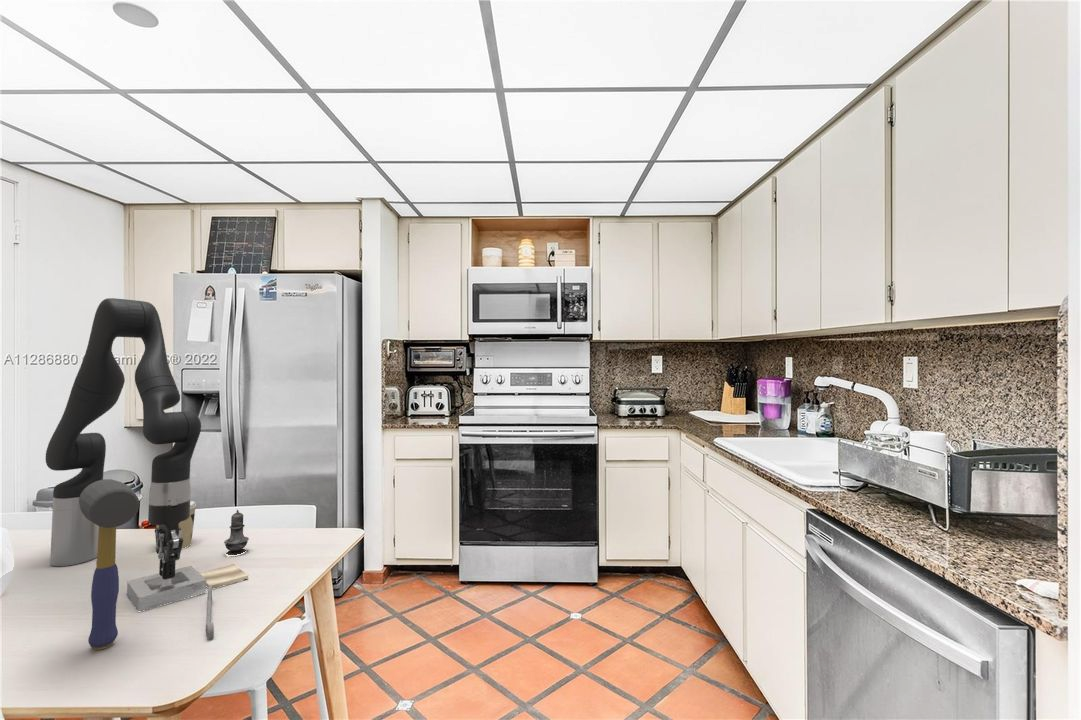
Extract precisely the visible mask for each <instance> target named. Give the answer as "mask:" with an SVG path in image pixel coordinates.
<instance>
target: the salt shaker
mask: <svg viewBox="0 0 1081 720" xmlns="http://www.w3.org/2000/svg"><path fill="white" fill-rule="evenodd" d="M239 511H240V510H239V509H237V510H236V512H235V513H233V514H232V515H231V519H230V520H231V522H230V526H229V529H230V535H229V538H227V539H226V540H224V542H223V543H224V545H225V548H226V550H228V551H226V552H225V553H226V554H228V555H237V554H241V553H243V552H245V551H246V550H247V549H245V547H246V546H247V545H248V541H249V539H250V538H249V536H248V537H247V536H245V534H244V527H245V524H244V514H243V513H242V512H239Z"/></svg>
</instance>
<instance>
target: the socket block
mask: <svg viewBox="0 0 1081 720" xmlns="http://www.w3.org/2000/svg"><path fill="white" fill-rule="evenodd" d="M200 573H201V572H199V571H198V570H196V568H194V567H193V565H188V566H184V567H180V568H175V576H174V577H173V578H170V579H171V584H173V585H170V586H166V587H162V588H160V587H161V586H162V583H163V578H162V576H160V575H159V573H155V574H152V575H151V574H150V575H147V576H146V575H145V576H143V577H139V578H135V579H130V580H126V596H127V595H128V596H127V597H128V599H129V598H130V599H129V600H130V602H131V601H132V602H131V603H132V605H133V604H134V605H133V606H134V608H135V607H136V608H135V609H136V611H137V610H138V611H142V612H144V611H143V610H145V611H148V610H147V609H149V610H151V609H150V608H152V609H155V608H154V607H156V608H158V607H157V606H159V607H161V606H160V605H163V606H165V605H164V604H166V605H168V604H167V603H170V602H173V603H175V602H174V601H177V600H180V601H182V600H181V599H184V598H187V599H189V598H188V597H191V596H194V597H196V596H195V595H198V594H201V593H205V592H206V593H207V587H206V579H205V578H204V577H203V576H202V575H201V574H200ZM206 593H205V594H206ZM201 595H202V594H201ZM198 596H199V595H198ZM191 598H192V597H191ZM184 600H185V599H184ZM177 602H178V601H177ZM170 604H171V603H170ZM138 611H137V612H138Z"/></svg>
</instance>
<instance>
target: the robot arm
mask: <svg viewBox="0 0 1081 720" xmlns="http://www.w3.org/2000/svg"><path fill="white" fill-rule="evenodd" d="M93 317H94V318H93V321H92V326H91V331H90V335H89V338H88V342H87V346H86V350H85V353H84V356H83V359H82V362H81V365H80V367H79V369H78V372H77V373H76V376H75V378H74V381H73V383H72V384H73V385H72V387H71V389H70V394H69V396H68V399H67V402H66V404H65V405H66V406H65V408H64V411H63V414H62V416H61V418H60V420H59V421H58V424H57V426H56V428H55V430H54V432H53V433H52V436H51V438H50V440H49V441H48V444H47V448H46V451H45V464H46V466H47V468H49V469H50V470H53V471H56V472H57V471H58V472H59V471H60V472H61V471H62V472H63V471H71V470H72V471H73V470H78V469H79V470H80V469H81V470H80V472H78V474H76V475H75V476H73V477H71V478H70V479H68V480H65V481H62V482H60V483H57V484H56V485H55V486H54V488H53V490H52V491H53V492H52V518H51V538H50V556H49V564H50V566H53V567H64V566H65V567H66V566H74V565H78V564H83V563H86V562H89V561H92V560H94V559H97V548H98V530H99V526H98V525H96V524H94V523H93V522H91V521H89V520H88V519H87V518H86V517H85V516H84V515H83V513H82V511H81V509H80V505H79V498H80V494H81V493H82V491H83V490H84V489H85V488H86V487H87V486H88V485H90V484H92V483H94V482H96V481H99V480H103V479H104V472H105V471H104V470H105V469H104V468H105V460H106V453H107V452H106V451H107V446H106V445H107V444H106V439H105V438H104V436H103V434H101V432H87V433H86V432H85V433H82V431H84V430H85V429H86V427H88V426H89V425H90V424H92V423H94V422H95V421H97V420H98V419H99V418H101V417H102V416H103V415H104V414H106V413H107V412H108V411H110V410H111V409H112V408H113V407H114V406H115V405H116V404H117V402H118V400H119V399H120V395H121V393H122V390H123V389H124V385H125V381H126V378H125V373H124V372H123V371H122V368H121V366H120V365H119V363H118V361H117V360H116V358H115V355H114V354H113V344H114V341H115V339H116V338H135V339H137V338H138V339H141V340H142V342H143V345H144V351H143V354H142V355H141V358H140V360H139V362H138V364H137V367H136V369H135V372H134V382H135V383H134V384H135V387H136V389H137V392H138V394H139V396H140V399H141V402H142V415H143V416H142V417H143V418H142V419H143V421H142V435H143V436H144V438H145V439H146V440H147V442H149V443H151V444H153V445H167V444H173V446H172V448H171V449H170V450H169V451H168V450H167V452H163V453H160V454H158V455H156V456H155V457H154V458H153V459H152V462H151V481H150V487H149V492H148V494H149V495H148V515H147V516H148V517H147V518H148V519H147V522H148V523H149V524H150V525H152V526H156V525H159V528H156V527H155V529H154V534H155V535H154V537H155V546H156V549H155V550H156V551H155V553H156V554H157V555H158V556H157V558H158V559H159V565H158V567H159V568H158V570H159V571H158V574H159V575H160V576H162V578H163V579H164V580H166V579H170V578H173V577H174V576H175V569H176V561H180V557H181V552H182V550H183V549H182V544H183V538H180V536H181V528H180V529H179V523H180V522H181V521H185V520H186V519H188V518H189V516H190V501H191V495H192V494H191V491H192V490H191V488H192V487H191V479H190V478H191V477H190V476H191V462H192V457H193V454H194V452H195V448H196V446H197V443H198V440H199V438H200V436H201V435H200V434H201V431H202V422H201V419H200V418H199V416H198V415H197V413H195V412H193V411H187V410H185V411H170V412H169V411H168V412H166V411H165V410H168V409H171V408H174V407H175V406H176V405H178V404H179V403H180V401H181V394H180V390H179V389H178V386H177V383H176V380H175V379H174V376H173V373H172V372H171V368H170V366H169V361H168V355H167V349H166V343H165V338H164V332H163V328H162V327H163V326H162V322H161V318H160V316H159V312H158V310H157V309H156V306H154V304H152V303H150V302H148V301H144V300H143V301H142V300H136V299H135V300H134V299H128V298H127V299H124V298H113V297H109V298H105V299H103V300H101V301H100V303H99V304H98V306H97V308H96V311H95V313H94V316H93ZM162 558H163V560H162ZM161 569H162V570H161Z"/></svg>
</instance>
